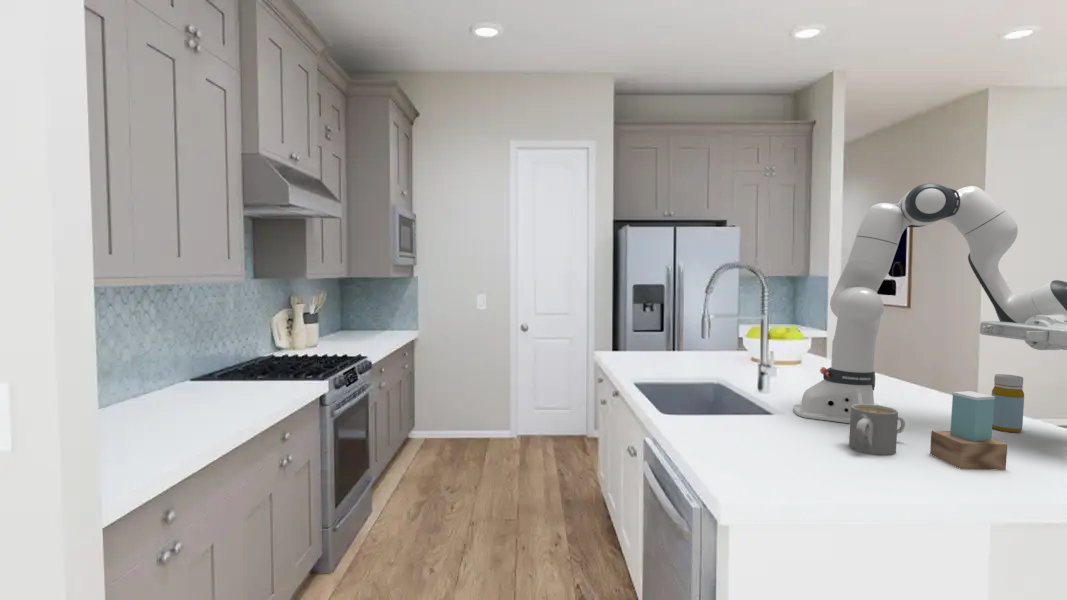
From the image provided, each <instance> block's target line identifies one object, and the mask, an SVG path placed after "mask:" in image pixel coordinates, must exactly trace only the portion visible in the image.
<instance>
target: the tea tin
mask: <svg viewBox="0 0 1067 600" xmlns="http://www.w3.org/2000/svg"><path fill="white" fill-rule="evenodd" d="M994 399H995V396H992V395H991V394H990V395H989V394H986V393H985V394H984V393H981V392H975V391H971V390H970V391H969V390H968V391H967V390H966V391H953V392H952V401H951V417H950V429H949V431H950V435H953V436H957V437H960V438H963V439H967V440H970V441H973V442H974V441H985V440H991V438H992V436H993V435H992V434H993V428H992V423H993V410H994Z"/></svg>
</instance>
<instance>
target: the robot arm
mask: <svg viewBox="0 0 1067 600" xmlns="http://www.w3.org/2000/svg"><path fill="white" fill-rule="evenodd" d="M938 221H946V222H947V223H948V222H949V223H951V224H952V225H953V226H954V227H955V228H956V229H957V231H959V233H960V234H961V235H962V236H963V237H964V239H965V241H966V243H967V244H968V248H969V253H968V255H967V260H968V263H969V266H970V268H971V270H972V271H973V273H974V276H975V277H976V279H977V280H978V282H979V284H980V285H981V287H982V289H983V290H984V292H985V294H986V295H987V297H988V299H989V301H990V302H991V305H992V306H993V309H994V310H995V313H996V315H997V318H998V320H999V321H996V320H995V321H993V320H992V321H991V320H982V321H981V322H980V325H979V334H980V335H984V336H991V337H997V338H1004V339H1011V340H1012V339H1013V340H1019V341H1024V342H1025V344H1026V345H1028V346H1029V347H1030V348H1032V349H1034V350H1037V351H1060V350H1063V351H1067V281H1064V280H1059V279H1056V280H1052V281H1050V282H1047V283H1045V284H1042V285H1040V286H1038V287H1035V288H1033V289H1031V290H1029V291H1026V292H1023V293H1021V294H1019V295H1016V294H1014V293H1013V292H1012V290H1011V289H1010V287H1009V285H1008V283H1007V282H1006V280H1005V278H1004V277H1003V275H1002V274H1001V272H1000V270H999V262H1000V261H1001V259H1002V258H1003V256H1005V254H1006V253H1007V251H1008V250H1009V249H1011V247H1012V246H1013V244H1014V243H1015V241H1016V239H1017V237H1018V232H1019V231H1018V227H1019V226H1018V225H1017V222H1016V221H1015V219H1014V218H1013V217H1012V215H1010V214H1009V212H1008V211H1007V210H1006V209H1005V208H1004V207H1003V206H1002V205H1001V204H1000V203H999V202H998V201H997V200H996V199H995V198H994V197H993V196H991V195H990V194H989V193H988V192H986V191H985V190H984V189H982V188H981V187H978V186H975V185H974V186H973V185H969V186H965V187H964V186H963V187H961V188H959V189H957V190H956V189H952V188H950V187H947V186H944V185H943V184H938V183H934V182H933V183H932V182H931V183H930V182H927V183H923V184H919V185H917V186H915V187H913V188H912V189H910V190H909V191H908V192H907V193H906V194H904V195H903V197H901V199H900V200H899V201H898V202H896V203H890V202H889V203H888V202H881V203H876V204H873V205H872V206H870V207H869V208H868V210H867V211H866V213H865V215H864V217H863V218H862V221H861V223H860V226H859V227H858V230H857V233H856V235H855V238H854V241H853V245H852V247H851V250H850V253H849V255H848V259H847V262H846V264H845V267H844V269H843V271H842V272H841V274H840V277H839V278H838V281H837V284H836V286H835V288H834V291H833V293H832V295H831V298H830V300H829V306H830V311H831V312H832V314H833V315H834V316H836V317H837V320H836V325H835V332H834V336H833V339H832V343H831V345H832V346H831V348H832V349H831V365H830V367H828V368H826V367H824V366H823V367H821V368H820V369H819V372H820V373H821V374H822V375H823V380H821V381H819V382H817V383H816V384H814V385H812V386H810V387H809V388H807V389H806V390H805V391H804V392H803V395H802V397H801V402H800V404H796V405H795V404H794V406H793V407H792V411H793V412H794V414H795V415H796V416H799V417H800V418H801V417H802V418H806V419H813V420H820V421H821V420H822V421H828V422H837V423H846V424H850V415H851V405H854V404H873V405H875V398H874V391H875V386H876V372H875V371H874V368H875V366H874V364H875V350H876V343H877V336H878V332H879V330H880V329H879V328H880V323H881V318H882V314H883V313H884V309H885V306H884V301H883V299H882V298H881V296H880V295H879V294H878V291H879V289H880V287H881V285H882V284H883V282H884V280H885V279H886V276H888V274H889V272H890V270H891V268H892V264H893V262H894V258H895V256H896V253H897V250H898V247H899V244H900V241H901V237H902V235H903V234H904V231H905V230H906V229H907V228H920V227H925V226H929V225H933V224H935V223H937V222H938Z"/></svg>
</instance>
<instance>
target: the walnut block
mask: <svg viewBox="0 0 1067 600" xmlns="http://www.w3.org/2000/svg"><path fill="white" fill-rule="evenodd" d="M930 433H931V434H930V447H929V448H930V450H929V453H930V455H931V454H932V455H931V456H933V455H934V456H933V457H935V456H936V457H935V458H937V457H938V458H937V459H938V460H941V459H942V461H943V460H944V461H943V462H945V461H946V462H945V463H947V462H948V463H947V464H949V463H950V464H949V465H951V464H952V466H953V465H954V467H955V466H956V467H955V468H957V467H958V468H957V469H959V468H960V469H959V470H990V469H997V470H998V471H1006V470H1007V455H1008V444H1007V443H1005V442H1002V441H1000V440H997V439H994V438H992V437H991V440H985V441H974V442H973V441H970V440H967V439H963V438H960V437H957V436H953V435H950V430H931V432H930ZM997 470H996V471H997Z"/></svg>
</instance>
